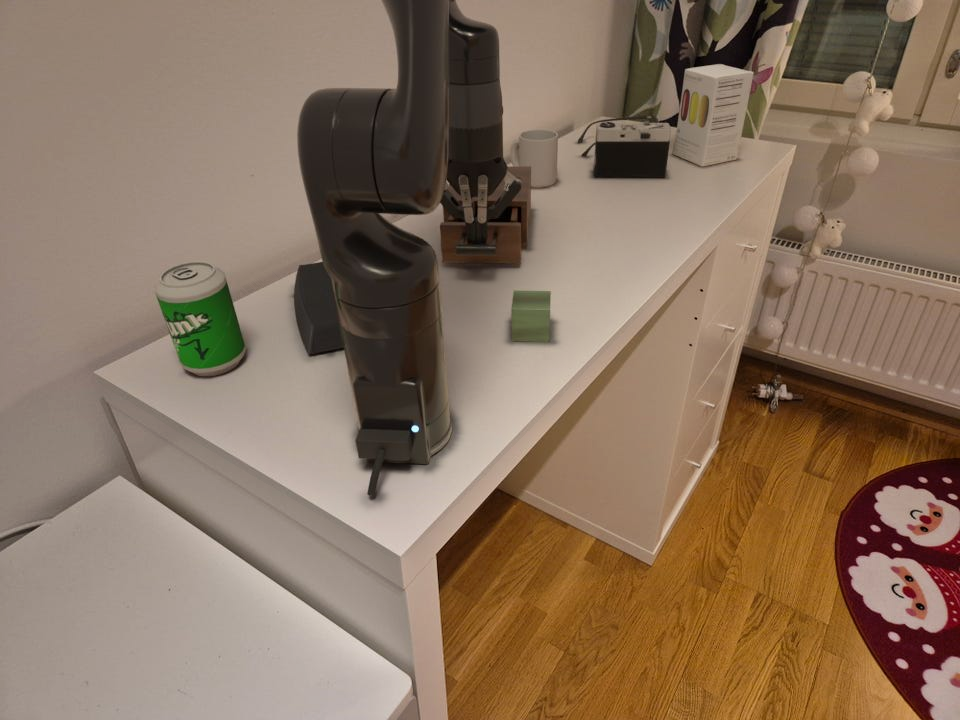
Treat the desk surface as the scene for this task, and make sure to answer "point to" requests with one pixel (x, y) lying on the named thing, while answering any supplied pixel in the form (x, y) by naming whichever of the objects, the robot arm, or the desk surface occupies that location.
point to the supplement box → (712, 114)
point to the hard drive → (316, 309)
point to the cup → (537, 155)
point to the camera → (631, 150)
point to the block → (531, 316)
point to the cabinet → (520, 200)
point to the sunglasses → (651, 117)
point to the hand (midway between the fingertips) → (477, 245)
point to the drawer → (498, 246)
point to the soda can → (200, 318)
